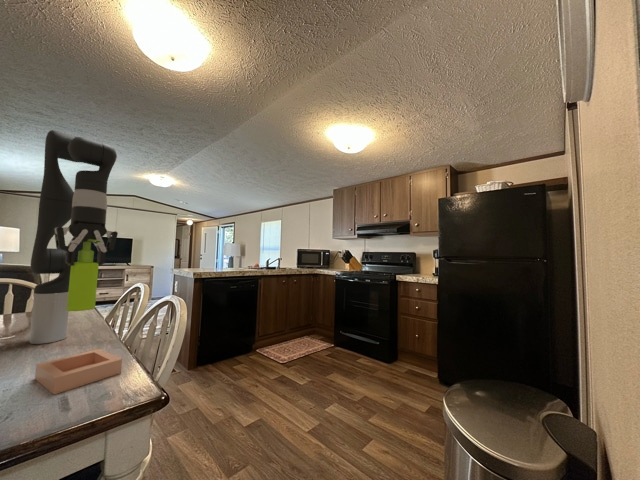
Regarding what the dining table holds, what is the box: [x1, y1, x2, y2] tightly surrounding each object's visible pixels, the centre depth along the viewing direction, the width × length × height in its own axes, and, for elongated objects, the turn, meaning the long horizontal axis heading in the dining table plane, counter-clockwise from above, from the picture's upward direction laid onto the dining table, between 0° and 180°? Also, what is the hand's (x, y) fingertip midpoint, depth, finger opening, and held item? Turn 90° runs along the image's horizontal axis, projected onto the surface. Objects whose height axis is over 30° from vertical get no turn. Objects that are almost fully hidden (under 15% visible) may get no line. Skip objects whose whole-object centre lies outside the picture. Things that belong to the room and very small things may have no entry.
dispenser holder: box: [34, 348, 123, 395], centre depth 67 cm, size 14×13×4 cm
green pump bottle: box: [67, 239, 101, 312], centre depth 74 cm, size 6×7×20 cm
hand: (85, 265), depth 74 cm, fingers closed on green pump bottle, 6 cm apart
